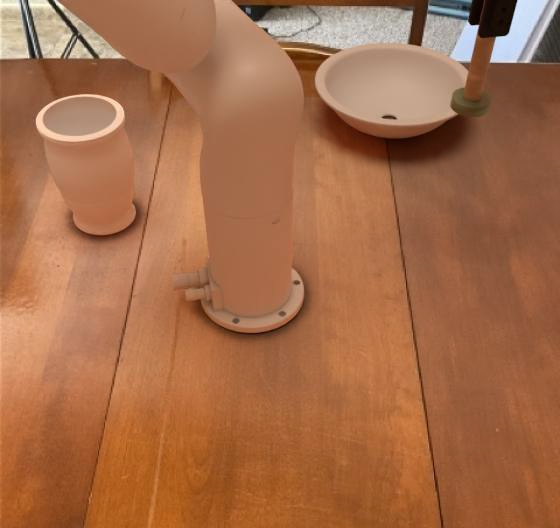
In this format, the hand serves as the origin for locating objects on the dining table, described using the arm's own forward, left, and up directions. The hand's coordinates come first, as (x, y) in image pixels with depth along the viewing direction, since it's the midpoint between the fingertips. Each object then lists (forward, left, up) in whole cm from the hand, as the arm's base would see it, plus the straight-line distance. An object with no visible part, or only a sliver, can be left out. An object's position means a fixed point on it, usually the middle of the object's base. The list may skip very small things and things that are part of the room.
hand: (487, 28), depth 70 cm
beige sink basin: (+1, +27, -27) cm, 38 cm away
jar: (-44, +12, -27) cm, 53 cm away
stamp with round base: (0, 0, -9) cm, 9 cm away
